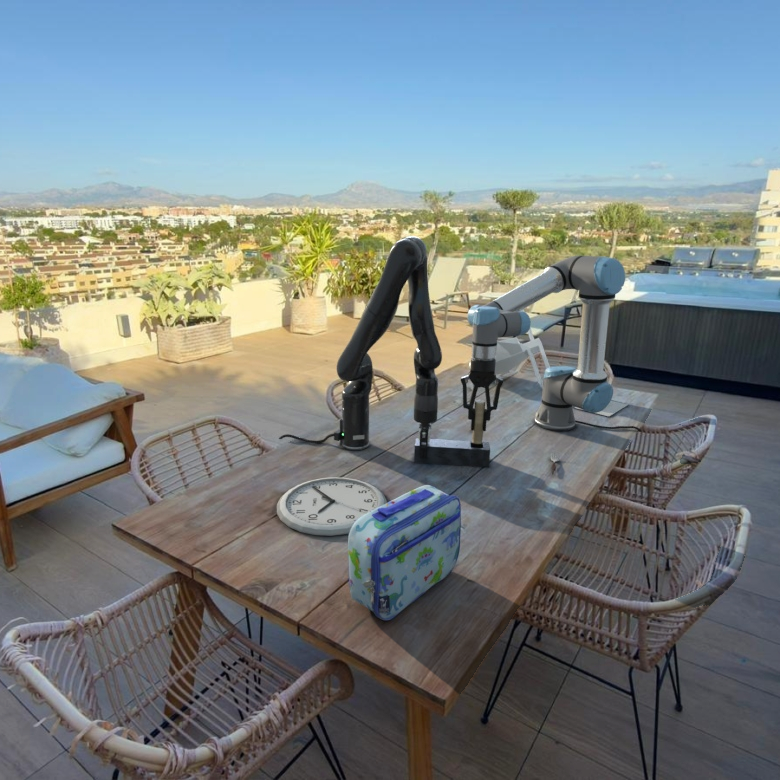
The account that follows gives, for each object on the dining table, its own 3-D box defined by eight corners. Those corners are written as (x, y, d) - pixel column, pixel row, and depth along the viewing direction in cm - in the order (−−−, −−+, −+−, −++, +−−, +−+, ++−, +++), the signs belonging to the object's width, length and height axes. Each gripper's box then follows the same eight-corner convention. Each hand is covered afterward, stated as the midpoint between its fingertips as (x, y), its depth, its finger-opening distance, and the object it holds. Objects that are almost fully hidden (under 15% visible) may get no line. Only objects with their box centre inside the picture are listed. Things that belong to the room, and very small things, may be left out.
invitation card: (608, 416, 214) (573, 407, 224) (608, 416, 214) (573, 408, 224) (628, 404, 229) (594, 396, 238) (628, 405, 229) (594, 397, 238)
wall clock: (392, 527, 129) (268, 531, 127) (391, 533, 130) (269, 537, 127) (383, 473, 158) (282, 475, 155) (383, 478, 158) (282, 480, 156)
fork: (547, 475, 162) (548, 469, 162) (551, 455, 176) (551, 449, 176) (556, 476, 161) (557, 470, 161) (559, 456, 176) (560, 451, 175)
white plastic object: (489, 418, 267) (470, 395, 242) (471, 346, 289) (451, 318, 264) (561, 394, 254) (547, 368, 230) (535, 321, 277) (521, 289, 252)
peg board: (487, 458, 173) (488, 442, 172) (488, 467, 167) (490, 450, 165) (415, 454, 176) (415, 438, 174) (414, 462, 170) (414, 445, 168)
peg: (482, 444, 167) (485, 402, 163) (472, 443, 167) (475, 402, 163) (482, 440, 170) (485, 399, 166) (472, 439, 170) (474, 399, 166)
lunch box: (378, 635, 98) (379, 537, 91) (341, 606, 105) (340, 513, 99) (464, 574, 115) (470, 488, 109) (427, 553, 122) (431, 471, 116)
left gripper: (415, 398, 174) (414, 445, 179) (412, 413, 160) (410, 462, 165) (438, 400, 173) (436, 446, 178) (436, 414, 160) (434, 464, 165)
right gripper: (509, 356, 163) (502, 426, 170) (456, 353, 165) (452, 423, 172) (511, 362, 156) (505, 435, 163) (456, 359, 158) (452, 431, 165)
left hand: (423, 454), depth 172 cm, fingers closed on peg board, 6 cm apart
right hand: (478, 429), depth 167 cm, fingers closed on peg, 3 cm apart
